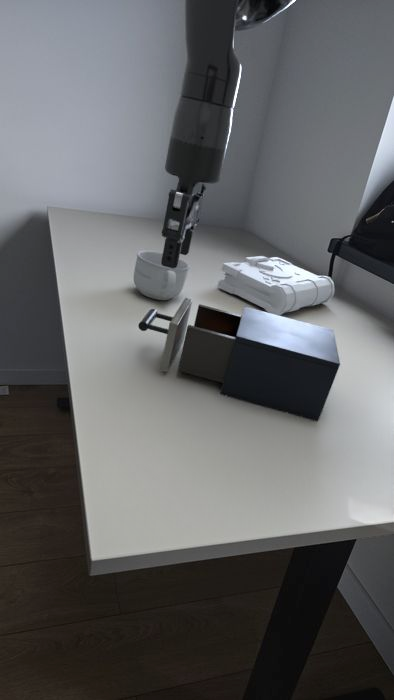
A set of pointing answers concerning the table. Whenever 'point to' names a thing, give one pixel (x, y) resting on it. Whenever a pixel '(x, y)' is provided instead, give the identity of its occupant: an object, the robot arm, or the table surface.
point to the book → (275, 284)
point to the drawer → (197, 339)
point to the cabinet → (282, 364)
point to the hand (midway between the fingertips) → (175, 259)
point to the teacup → (158, 276)
